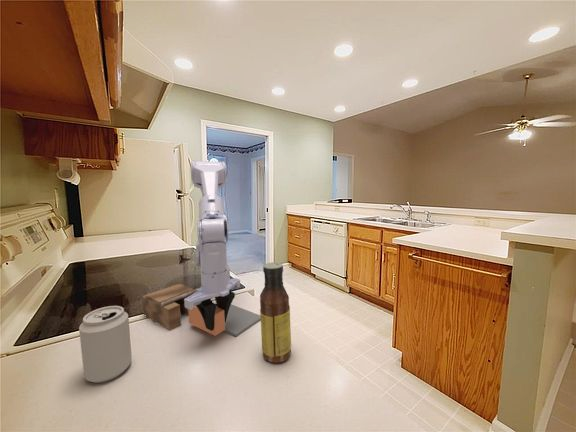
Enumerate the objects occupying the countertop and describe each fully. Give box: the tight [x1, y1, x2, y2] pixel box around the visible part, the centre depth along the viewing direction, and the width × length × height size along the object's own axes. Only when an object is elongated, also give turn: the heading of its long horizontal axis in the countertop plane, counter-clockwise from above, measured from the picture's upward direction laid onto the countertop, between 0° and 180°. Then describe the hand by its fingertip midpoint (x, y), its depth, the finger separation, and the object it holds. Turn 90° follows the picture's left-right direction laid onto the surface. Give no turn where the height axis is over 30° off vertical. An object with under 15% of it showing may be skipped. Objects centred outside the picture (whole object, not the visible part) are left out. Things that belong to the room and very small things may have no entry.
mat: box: [223, 303, 261, 338], centre depth 66 cm, size 10×13×1 cm
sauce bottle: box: [259, 261, 292, 364], centre depth 51 cm, size 7×6×20 cm
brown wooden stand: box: [142, 283, 197, 331], centre depth 68 cm, size 13×10×6 cm
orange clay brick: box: [188, 306, 225, 337], centre depth 60 cm, size 10×3×5 cm, turn 56°
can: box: [78, 305, 133, 384], centre depth 47 cm, size 8×8×12 cm
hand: (216, 325), depth 58 cm, fingers closed on orange clay brick, 3 cm apart
